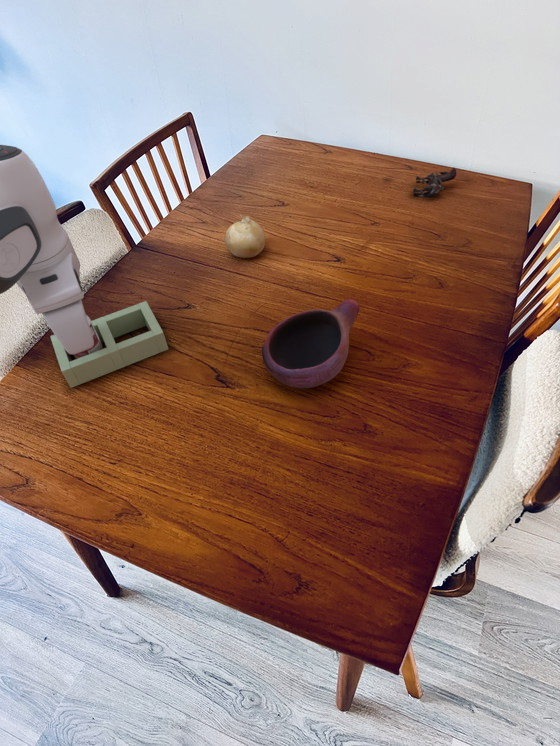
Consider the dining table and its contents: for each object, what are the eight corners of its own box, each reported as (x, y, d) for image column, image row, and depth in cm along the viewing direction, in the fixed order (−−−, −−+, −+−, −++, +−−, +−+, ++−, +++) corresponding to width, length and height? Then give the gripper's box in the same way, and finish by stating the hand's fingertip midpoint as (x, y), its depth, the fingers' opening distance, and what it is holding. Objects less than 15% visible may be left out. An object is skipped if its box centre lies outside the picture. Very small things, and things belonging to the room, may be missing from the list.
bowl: (333, 410, 76) (334, 374, 70) (253, 389, 80) (247, 354, 74) (361, 336, 86) (364, 299, 80) (288, 320, 89) (286, 284, 83)
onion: (273, 256, 102) (270, 224, 96) (236, 268, 100) (231, 237, 94) (257, 235, 107) (253, 204, 101) (221, 247, 105) (215, 216, 99)
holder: (71, 388, 82) (61, 371, 79) (59, 352, 88) (50, 336, 85) (168, 349, 87) (163, 332, 84) (151, 317, 92) (146, 300, 89)
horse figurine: (383, 207, 115) (454, 202, 110) (380, 192, 112) (453, 185, 107) (389, 183, 120) (457, 176, 114) (387, 167, 117) (457, 160, 111)
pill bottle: (73, 345, 86) (53, 307, 80) (101, 337, 87) (84, 299, 80) (74, 365, 83) (53, 327, 77) (104, 357, 84) (86, 319, 77)
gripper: (9, 233, 77) (46, 304, 87) (33, 313, 64) (73, 384, 75) (52, 220, 78) (83, 291, 89) (83, 296, 66) (116, 367, 77)
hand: (79, 334), depth 82 cm, fingers closed on pill bottle, 5 cm apart
